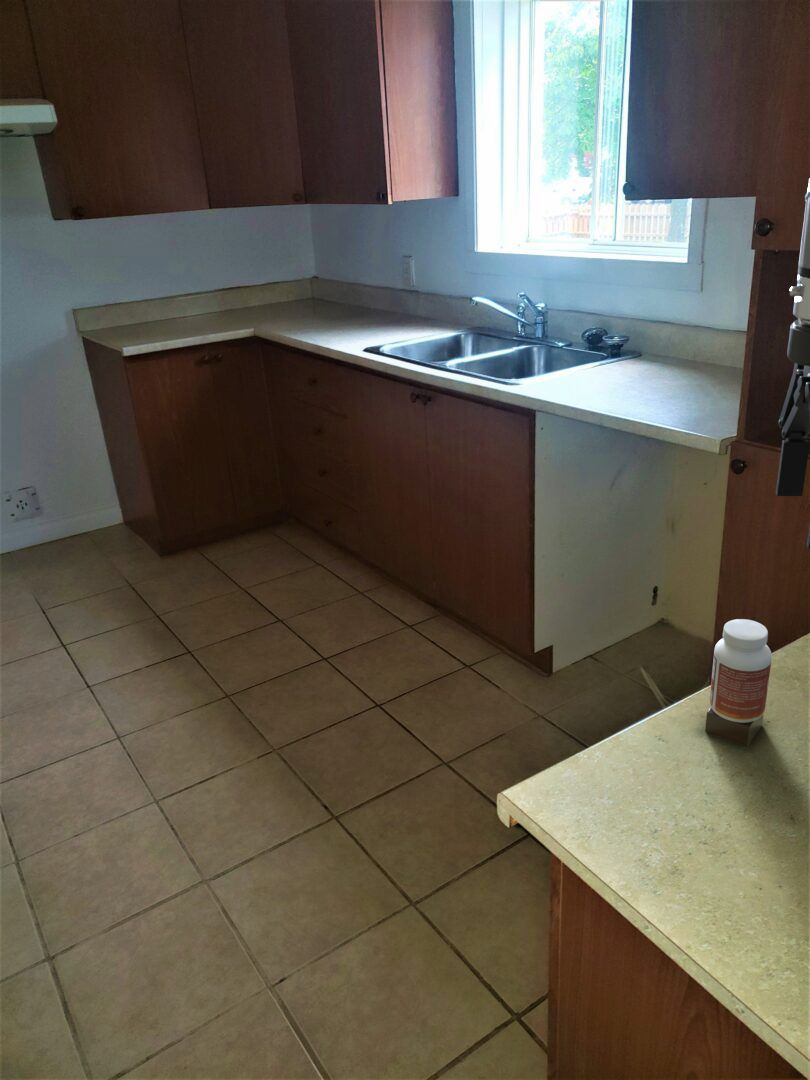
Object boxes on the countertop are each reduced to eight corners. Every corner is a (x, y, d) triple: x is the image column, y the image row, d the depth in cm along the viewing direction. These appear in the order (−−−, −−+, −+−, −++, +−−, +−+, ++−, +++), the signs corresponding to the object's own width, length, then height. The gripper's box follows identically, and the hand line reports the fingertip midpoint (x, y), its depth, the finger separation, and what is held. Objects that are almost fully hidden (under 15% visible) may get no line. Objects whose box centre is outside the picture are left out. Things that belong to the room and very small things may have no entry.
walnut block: (720, 710, 102) (723, 691, 100) (762, 725, 99) (764, 705, 97) (704, 732, 98) (706, 711, 97) (746, 748, 95) (749, 727, 94)
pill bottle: (775, 718, 95) (788, 638, 90) (728, 729, 94) (738, 648, 89) (743, 688, 100) (753, 611, 96) (698, 698, 99) (706, 620, 95)
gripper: (764, 299, 91) (744, 477, 100) (829, 351, 69) (796, 573, 78) (837, 295, 89) (810, 476, 98) (927, 347, 67) (882, 574, 76)
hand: (804, 519), depth 88 cm, fingers open, 13 cm apart
